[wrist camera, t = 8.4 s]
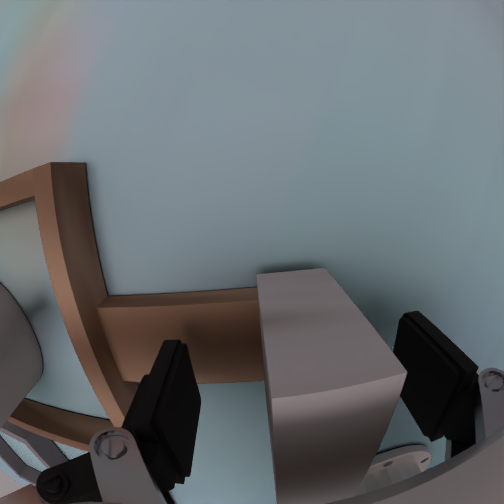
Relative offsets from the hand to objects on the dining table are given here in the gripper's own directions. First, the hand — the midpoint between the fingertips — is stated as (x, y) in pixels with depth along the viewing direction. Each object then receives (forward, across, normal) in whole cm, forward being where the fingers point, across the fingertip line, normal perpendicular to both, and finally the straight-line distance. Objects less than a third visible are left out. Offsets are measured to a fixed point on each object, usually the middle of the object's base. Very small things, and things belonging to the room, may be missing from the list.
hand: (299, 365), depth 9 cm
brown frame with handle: (+3, +11, 0) cm, 11 cm away
